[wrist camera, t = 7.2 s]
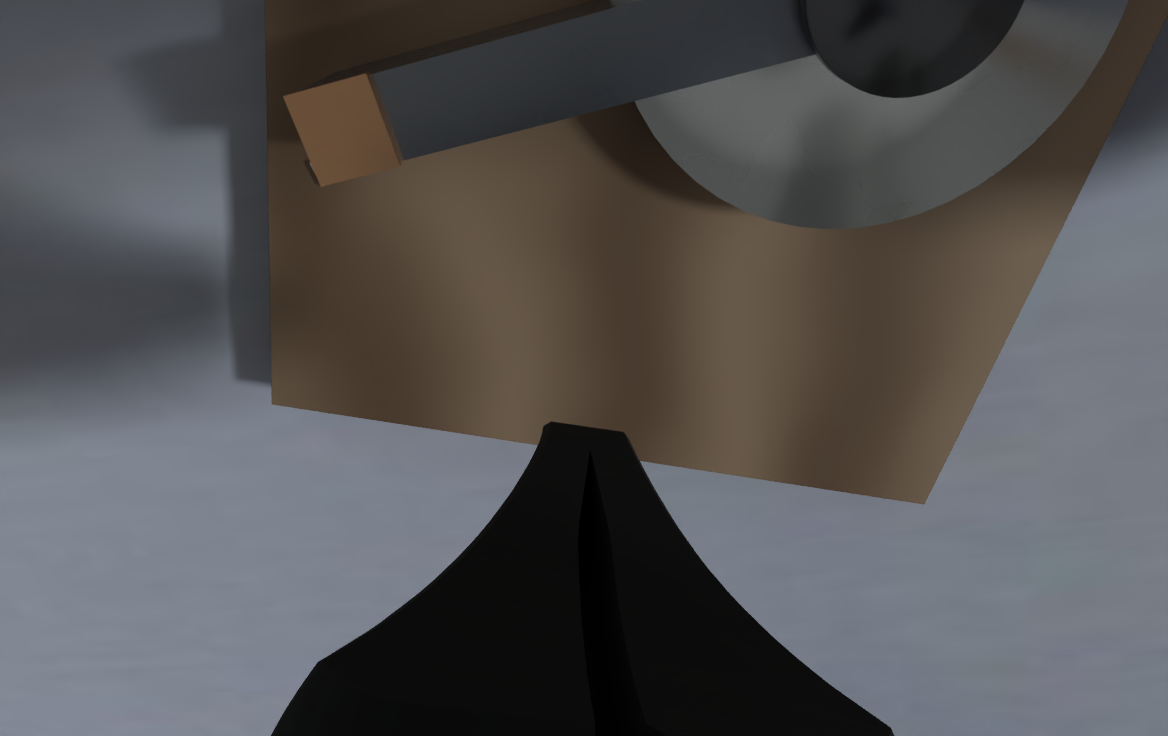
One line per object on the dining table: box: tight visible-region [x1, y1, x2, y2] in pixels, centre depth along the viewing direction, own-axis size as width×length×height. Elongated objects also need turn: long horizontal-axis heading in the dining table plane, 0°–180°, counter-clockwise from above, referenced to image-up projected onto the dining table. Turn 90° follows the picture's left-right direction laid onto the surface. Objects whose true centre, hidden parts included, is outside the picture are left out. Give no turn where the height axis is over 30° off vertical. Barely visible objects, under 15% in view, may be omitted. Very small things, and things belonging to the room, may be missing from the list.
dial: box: [283, 0, 1128, 229], centre depth 15 cm, size 16×10×4 cm, turn 104°
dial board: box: [265, 0, 1168, 504], centre depth 18 cm, size 19×22×2 cm
